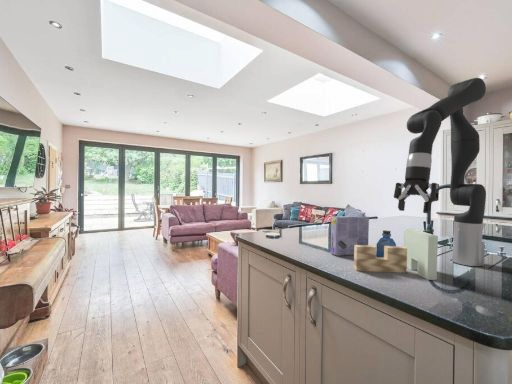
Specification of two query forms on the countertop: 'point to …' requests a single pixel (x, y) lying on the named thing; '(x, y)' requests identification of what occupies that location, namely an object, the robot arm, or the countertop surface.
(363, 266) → the oak u-shaped block
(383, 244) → the perfume bottle
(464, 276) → the countertop surface
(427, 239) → the sage board
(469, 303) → the countertop surface
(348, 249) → the cake pan box
